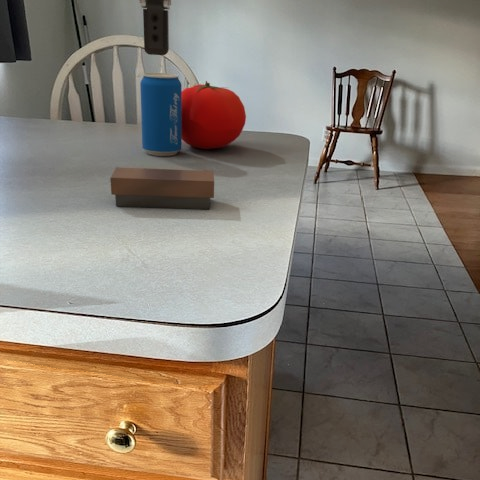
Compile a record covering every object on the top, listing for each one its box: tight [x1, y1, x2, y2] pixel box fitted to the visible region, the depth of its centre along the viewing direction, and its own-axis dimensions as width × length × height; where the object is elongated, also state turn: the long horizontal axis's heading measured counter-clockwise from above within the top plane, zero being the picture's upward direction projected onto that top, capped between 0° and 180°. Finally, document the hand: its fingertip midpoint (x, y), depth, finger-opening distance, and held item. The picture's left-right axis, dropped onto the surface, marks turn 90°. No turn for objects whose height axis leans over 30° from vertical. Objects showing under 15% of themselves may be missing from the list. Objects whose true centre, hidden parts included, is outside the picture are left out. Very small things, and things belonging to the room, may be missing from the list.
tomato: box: [181, 80, 247, 150], centre depth 94 cm, size 13×12×11 cm
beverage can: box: [139, 72, 182, 157], centre depth 88 cm, size 6×6×12 cm
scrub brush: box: [109, 167, 215, 210], centre depth 66 cm, size 12×5×4 cm, turn 94°
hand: (156, 54), depth 52 cm, fingers closed
